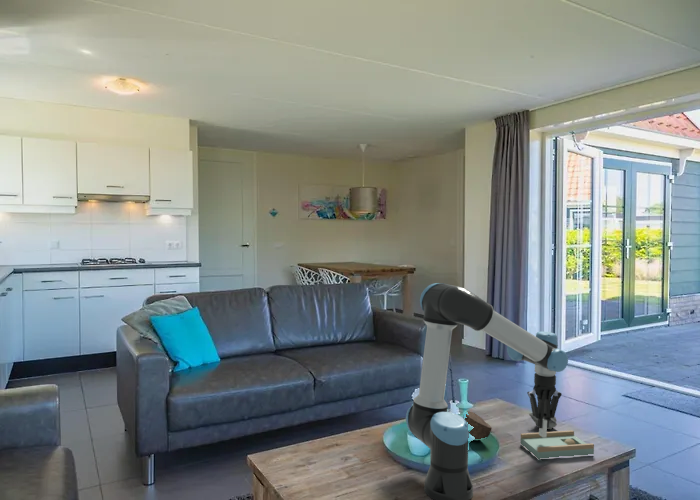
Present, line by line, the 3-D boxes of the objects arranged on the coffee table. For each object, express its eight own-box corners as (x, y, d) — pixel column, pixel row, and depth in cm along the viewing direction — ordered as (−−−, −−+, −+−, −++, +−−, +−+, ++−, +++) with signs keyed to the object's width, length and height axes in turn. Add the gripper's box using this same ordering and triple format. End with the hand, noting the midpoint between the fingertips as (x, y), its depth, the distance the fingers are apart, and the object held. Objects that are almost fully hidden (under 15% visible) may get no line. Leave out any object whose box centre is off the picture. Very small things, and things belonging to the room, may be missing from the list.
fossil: (537, 433, 203) (537, 413, 203) (524, 424, 212) (525, 406, 212) (561, 431, 206) (561, 412, 205) (548, 422, 214) (548, 404, 214)
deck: (538, 460, 179) (538, 448, 179) (520, 445, 192) (520, 433, 191) (593, 456, 182) (594, 444, 182) (572, 441, 195) (572, 430, 195)
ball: (567, 451, 186) (569, 440, 186) (561, 446, 190) (562, 436, 190) (577, 452, 186) (578, 441, 186) (570, 447, 190) (572, 437, 190)
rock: (497, 431, 193) (484, 421, 188) (482, 452, 192) (468, 443, 187) (476, 413, 204) (463, 404, 198) (461, 433, 203) (448, 425, 198)
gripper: (534, 377, 180) (531, 440, 181) (567, 376, 182) (564, 439, 183) (523, 371, 188) (521, 432, 188) (555, 370, 190) (552, 431, 190)
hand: (542, 436), depth 186 cm, fingers closed
